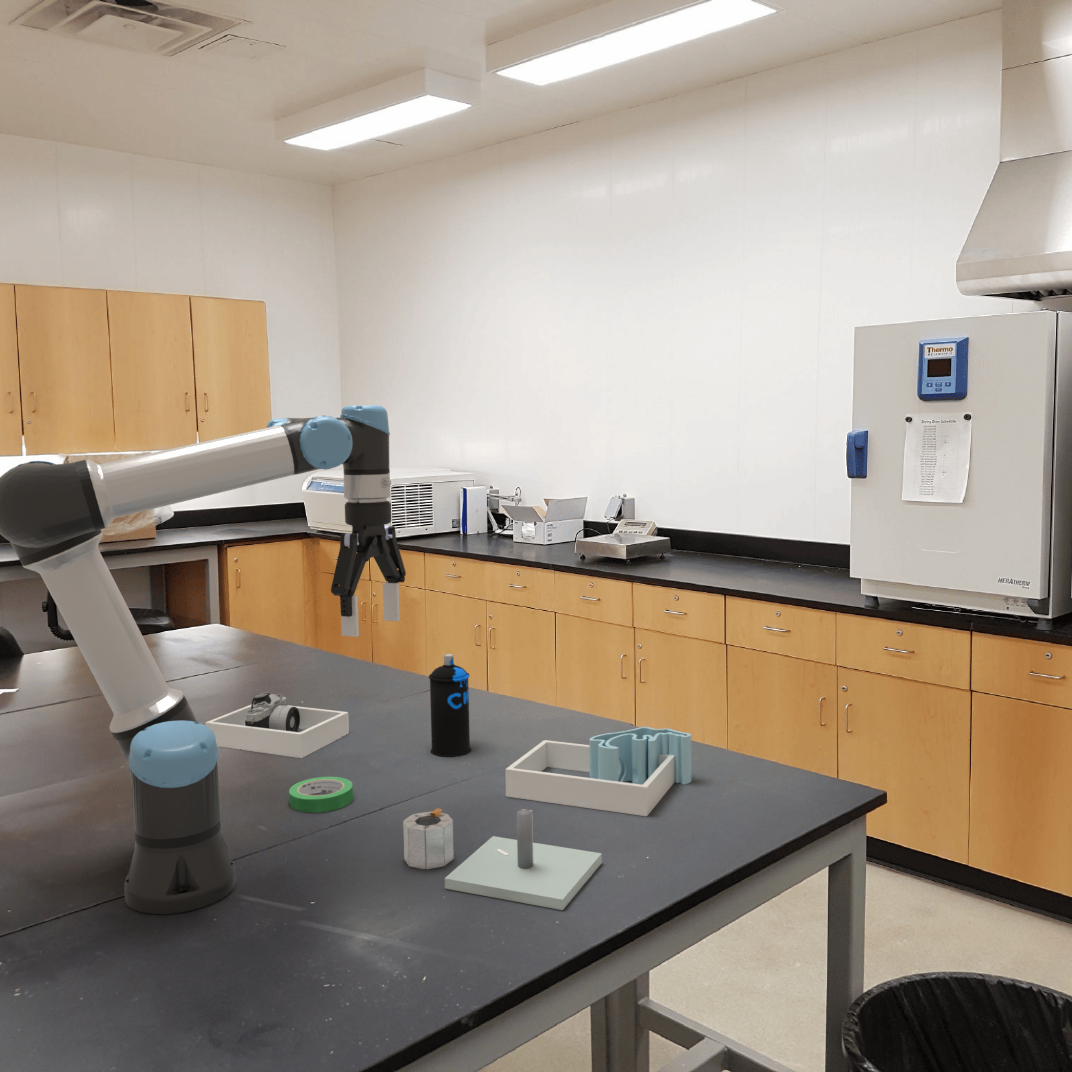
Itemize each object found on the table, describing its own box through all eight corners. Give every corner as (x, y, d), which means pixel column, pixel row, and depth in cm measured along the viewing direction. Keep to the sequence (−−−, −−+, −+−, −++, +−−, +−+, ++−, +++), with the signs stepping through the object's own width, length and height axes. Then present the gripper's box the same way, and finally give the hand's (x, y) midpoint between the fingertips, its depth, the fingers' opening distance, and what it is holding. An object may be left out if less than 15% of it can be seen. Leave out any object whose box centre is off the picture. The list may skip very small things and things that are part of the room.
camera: (277, 752, 205) (275, 704, 204) (236, 750, 207) (234, 703, 206) (309, 730, 220) (307, 685, 219) (271, 728, 222) (269, 684, 221)
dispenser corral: (646, 816, 168) (646, 787, 168) (505, 796, 178) (505, 769, 178) (675, 781, 185) (675, 755, 184) (544, 765, 195) (544, 740, 194)
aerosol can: (422, 754, 202) (419, 657, 200) (444, 743, 210) (442, 649, 207) (457, 760, 198) (454, 661, 196) (478, 748, 206) (476, 652, 204)
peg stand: (562, 910, 136) (561, 842, 135) (444, 888, 143) (443, 823, 142) (601, 863, 150) (601, 801, 149) (493, 845, 157) (492, 786, 156)
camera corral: (301, 758, 201) (300, 734, 200) (206, 745, 210) (205, 722, 210) (349, 734, 216) (348, 712, 216) (258, 723, 226) (257, 702, 225)
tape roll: (290, 816, 171) (289, 801, 171) (288, 794, 182) (287, 780, 182) (356, 809, 174) (355, 794, 174) (350, 787, 185) (349, 773, 185)
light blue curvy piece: (660, 769, 193) (660, 722, 192) (693, 784, 184) (693, 735, 183) (582, 788, 183) (581, 738, 182) (613, 804, 175) (613, 752, 174)
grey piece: (438, 871, 148) (437, 828, 148) (397, 864, 151) (395, 822, 150) (460, 853, 155) (459, 811, 154) (420, 846, 157) (419, 805, 157)
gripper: (347, 506, 152) (352, 644, 154) (423, 495, 175) (426, 615, 177) (305, 505, 154) (310, 641, 157) (385, 495, 178) (388, 613, 180)
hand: (371, 628), depth 167 cm, fingers open, 13 cm apart
